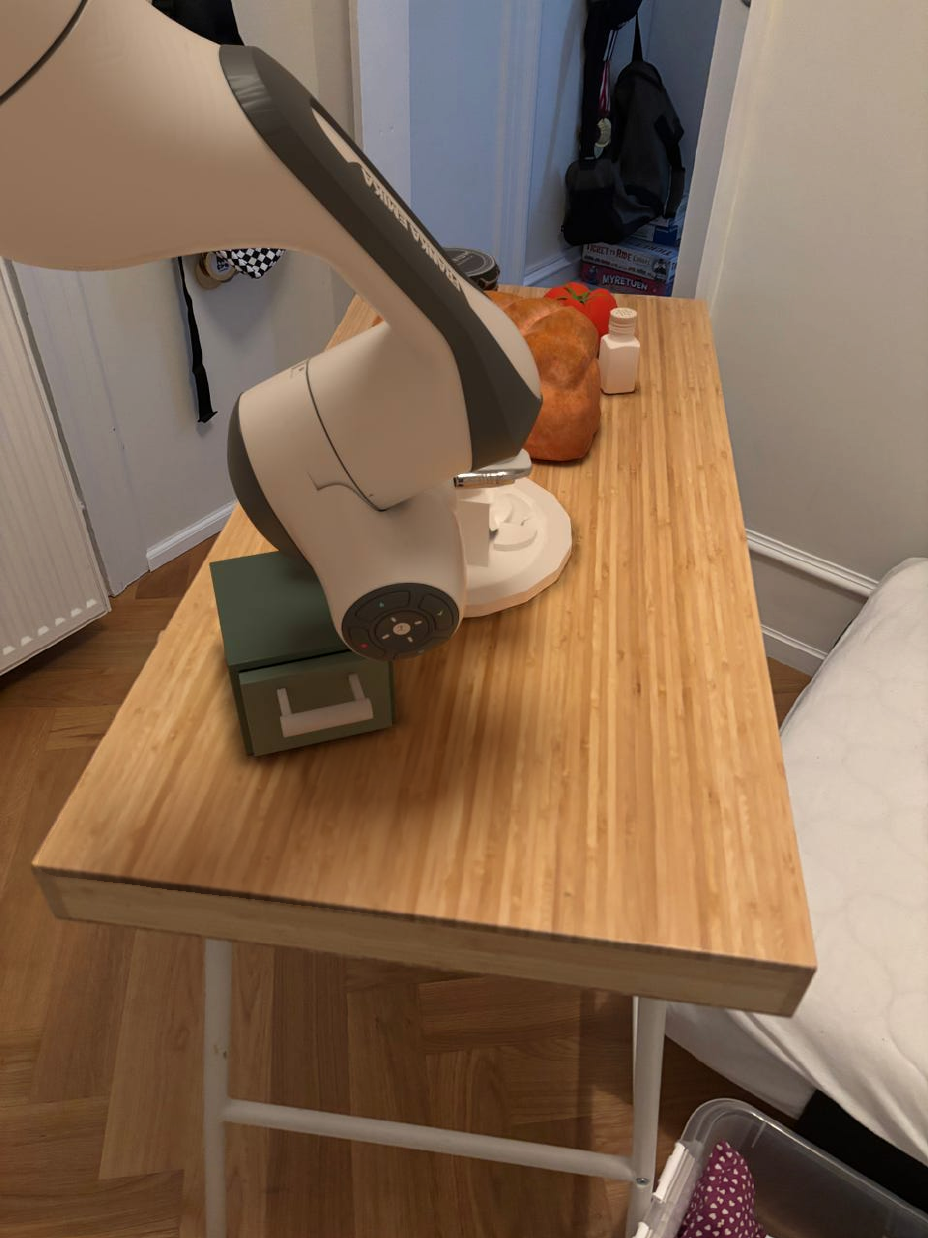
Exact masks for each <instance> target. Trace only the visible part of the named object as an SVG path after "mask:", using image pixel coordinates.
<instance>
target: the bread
mask: <svg viewBox="0 0 928 1238" xmlns="http://www.w3.org/2000/svg"><path fill="white" fill-rule="evenodd" d="M484 292H485V293H486V294H487V295H488V296H489V297H490V298H491V300H492V301H493V302H494V303H495V304H496V305H497V306H498V307H499V308H500V309H502V310H503V311H504V312H505V313H506V315H507V316H508V317H509V318H510V319H511V320H512V321H513V323H514V324H515V325H516V327H517V328H518V329H519V331H520V332H521V334H522V336H523V337H524V339H525V341H526V343H527V345H528V347H529V349H530V351H531V353H532V356H533V358H534V361H535V364H536V367H537V370H538V374H539V378H540V384H541V392H542V395H543V404H542V407H541V410H540V413H539V415H538V418H537V420H536V423H535V425H534V427H533V429H532V431H531V433H530V435H529V437H528V439H527V441H526V443H525V444H524V446H523V448H522V449H524V450H526V451H527V452H528V454H529V457H530V459H537V460H544V461H546V460H547V461H558V462H559V461H560V462H561V461H562V462H565V461H566V462H567V461H571V460H572V461H573V460H576V459H580V458H582V457H584V456H585V455H586V453H587V451H588V450H589V448H590V446H591V445H592V442H593V438H594V434H595V433H596V432H597V431H598V430H599V426H600V422H601V417H602V409H601V404H600V403H601V392H602V388H601V376H600V368H599V365H598V363H599V361H598V360H597V355H598V353H599V350H598V332H597V329H596V328H595V326H594V325H593V323H592V322H591V321H590V320H589V319H588V318H587V317H586V316H585V315H584V314H583V313H581V312H579V311H578V310H577V309H575V308H574V307H572V306H568V307H565V306H564V305H563V303H561V302H559V301H557V300H556V299H551V298H547V297H542V296H539V297H530V298H529V297H527V298H523V297H521V296H519V295H517V294H515V293H511V292H505V291H484ZM383 321H384V320H383V319H382V318H381V317H380V316H379V315H378V314H377V316H376V318H375V319H374V320H373V323H372V325H371V327H373V326H375V325H377V324H379V323H381V322H383Z"/></svg>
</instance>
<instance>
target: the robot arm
mask: <svg viewBox="0 0 928 1238" xmlns="http://www.w3.org/2000/svg"><path fill="white" fill-rule="evenodd" d="M442 247H443V246H442V245H441V244H440V243H439V242H438V240H437V239H436V238H435V237H434V235H433V234H432V232H430V231H429V230H428V228H427V227H426V226H425V224H423V222H422V221H421V219H419V217H418V216H417V215H416V214H415V213H414V211H413V210H412V209H411V208H410V206H409V205H408V204H407V203H406V202H405V200H404V199H403V198H402V197H401V196H400V195H399V193H398V192H397V191H396V190H395V189H394V187H393V185H391V184H390V182H389V181H388V180H387V178H386V177H385V176H384V175H383V174H382V173H381V171H380V170H379V169H378V168H377V167H376V165H375V164H374V163H373V162H372V160H370V158H369V157H368V156H367V155H366V154H365V152H364V151H363V150H362V149H361V148H360V146H359V145H358V144H357V143H356V141H354V140H353V139H352V138H351V137H350V135H349V134H348V133H347V132H346V131H345V130H344V129H343V127H342V126H341V125H340V124H339V122H338V121H337V120H336V118H334V117H333V116H332V115H331V114H330V112H329V111H328V110H327V109H326V108H325V107H324V106H323V105H322V103H321V102H320V101H319V100H318V99H317V98H316V97H315V96H314V95H313V94H312V92H310V90H309V89H308V88H306V87H305V85H303V84H302V82H301V81H300V80H299V79H298V78H297V77H296V76H295V75H293V74H292V73H291V72H290V71H289V70H288V69H287V68H286V67H284V66H283V65H282V64H281V63H280V62H279V61H277V60H276V59H275V58H274V57H272V56H271V55H269V54H268V53H267V52H266V51H265V50H263V49H262V48H260V47H258V46H255V45H241V44H237V45H236V44H218V43H216V42H214V41H211V40H209V39H207V38H205V37H203V36H201V35H199V34H198V33H195V32H194V31H191V30H189V29H188V28H186V27H185V26H183V25H181V24H179V23H178V22H176V21H175V20H173V19H171V17H169V16H167V15H165V14H164V13H163V12H162V11H160V10H159V9H157V8H156V7H154V6H153V5H152V4H151V3H149V2H148V1H147V0H0V257H1V258H3V259H6V260H8V261H11V262H15V263H18V264H21V265H25V266H30V267H37V268H41V269H48V270H53V271H65V272H66V271H68V272H85V273H86V272H103V271H105V272H106V271H113V270H114V271H116V270H122V269H128V268H132V267H136V266H141V265H145V264H149V263H154V262H158V261H163V260H169V259H173V258H178V257H184V256H189V255H195V254H202V253H209V252H218V251H219V252H220V251H227V250H228V251H229V250H230V251H231V250H244V249H245V250H246V249H277V250H279V249H280V250H285V251H286V250H287V251H292V252H293V251H294V252H297V253H301V254H305V255H308V256H310V257H314V258H316V259H317V260H318V261H321V262H323V263H324V264H325V265H327V266H328V267H329V268H330V269H331V270H333V271H334V272H335V273H336V274H337V275H338V276H339V277H340V278H341V279H342V280H343V281H344V282H345V283H346V284H347V286H349V288H351V289H352V290H353V291H354V293H356V294H357V295H358V296H359V298H361V300H362V301H364V302H365V303H366V304H367V305H368V306H369V308H371V309H372V310H373V311H374V313H375V314H377V316H378V315H379V316H380V317H381V318H382V319H383V320H384V321H383V322H381V323H379V324H377V325H375V326H373V327H372V326H371V327H370V328H368V329H366V330H363V331H361V332H359V333H357V334H356V335H354V336H352V337H350V338H347V339H345V340H344V341H342V342H340V343H338V344H335V345H334V346H332V347H330V348H328V349H326V350H324V351H322V352H320V353H318V354H317V355H315V356H312V357H308V358H306V359H304V360H302V361H300V362H298V363H297V364H295V365H292V366H291V367H289V368H286V369H284V370H283V371H281V372H279V373H277V374H275V375H273V376H271V377H269V378H267V379H265V380H263V381H262V382H260V383H258V384H256V385H254V386H253V387H251V388H249V389H248V390H245V391H242V392H241V393H240V394H239V395H238V397H237V399H236V400H235V403H234V405H233V408H232V411H231V414H230V418H229V423H228V430H227V442H226V443H227V444H226V445H227V446H226V458H227V459H226V460H227V461H226V463H227V468H228V474H229V478H230V483H231V486H232V488H233V491H234V494H235V496H236V499H237V501H238V503H239V505H240V507H241V508H242V510H243V511H244V513H245V514H246V517H247V518H248V519H249V520H250V522H251V524H252V525H253V527H254V528H255V529H256V530H257V531H258V532H259V534H260V535H261V536H262V537H263V539H265V540H266V541H267V542H268V543H269V544H270V545H271V546H273V548H275V549H276V551H280V552H281V553H283V554H285V555H286V556H288V557H289V558H291V559H292V560H294V561H295V562H297V563H299V564H300V565H302V566H304V567H306V568H308V569H310V570H312V571H315V572H316V574H317V576H318V578H319V581H320V583H321V585H322V587H323V590H324V593H325V595H326V598H327V602H328V606H329V609H330V613H331V617H332V620H333V623H334V626H335V629H336V631H337V633H338V634H339V636H340V638H341V639H342V640H343V642H344V643H345V644H346V645H347V646H348V647H349V648H350V649H351V650H352V651H354V652H356V653H357V654H359V655H361V656H364V657H367V658H370V659H375V660H381V661H393V662H398V661H399V662H400V661H403V660H409V659H412V658H415V657H418V656H421V655H423V654H426V653H428V652H430V651H433V650H434V649H435V650H436V649H437V648H439V647H441V646H443V645H444V644H445V643H447V642H448V641H449V640H450V639H451V638H452V637H454V634H455V633H457V630H458V629H459V627H460V625H461V623H462V621H463V615H464V611H465V605H466V595H467V567H466V555H465V547H464V540H463V534H462V530H461V527H460V524H459V522H458V520H457V498H456V492H455V490H459V489H480V488H495V487H501V486H505V485H511V484H514V483H515V480H517V479H521V478H524V477H526V478H528V477H529V476H530V475H531V473H532V471H533V463H532V460H531V459H532V458H530V457H529V454H528V452H527V451H526V450H524V449H522V448H523V446H524V444H525V443H526V441H527V439H528V437H529V435H530V433H531V431H532V429H533V427H534V425H535V423H536V420H537V418H538V415H539V413H540V410H541V407H542V404H543V395H542V392H541V384H540V378H539V374H538V370H537V367H536V364H535V361H534V358H533V356H532V353H531V351H530V349H529V347H528V345H527V343H526V341H525V339H524V337H523V336H522V334H521V332H520V331H519V329H518V328H517V327H516V325H515V324H514V323H513V321H512V320H511V319H510V318H509V317H508V316H507V315H506V313H505V312H504V311H503V310H502V309H500V308H499V307H498V306H497V305H496V304H495V303H494V302H493V301H492V300H491V298H490V297H489V296H488V295H487V294H486V293H485V292H484V291H483V290H482V289H481V288H480V287H479V286H478V285H477V284H476V283H475V282H474V281H473V280H472V279H470V278H469V277H468V276H467V275H466V274H465V273H464V272H463V271H462V270H461V269H460V268H459V266H458V265H457V264H456V263H455V262H454V261H453V260H452V258H451V257H450V256H449V255H448V254H447V253H446V251H445V250H444V249H443V248H442Z"/></svg>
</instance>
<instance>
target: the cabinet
mask: <svg viewBox="0 0 928 1238" xmlns="http://www.w3.org/2000/svg"><path fill="white" fill-rule="evenodd" d="M208 566H209V571H210V575H211V576H210V577H211V581H212V587H213V593H214V598H215V604H216V610H217V616H218V622H219V626H220V632H221V638H222V643H223V649H224V654H225V660H226V665H227V670H228V675H229V676H228V677H229V680H230V685H231V690H232V695H233V700H234V704H235V709H236V712H237V713H236V714H237V718H238V723H239V724H238V725H239V727H240V728H239V729H240V732H241V736H242V742H243V746H244V752H245V755H247V756H248V755H251V754H254V750H253V745H252V740H251V735H250V730H249V725H248V720H247V715H246V710H245V705H244V700H243V695H242V690H241V685H240V680H239V675H238V674H239V673H243V672H246V669H250V668H255V667H260V666H265V665H270V664H275V663H280V662H285V661H290V660H295V659H300V658H305V657H310V656H315V655H320V654H325V653H330V652H335V651H340V650H345V649H350V648H349V647H348V646H347V645H346V644H345V643H344V642H343V640H342V639H341V638H340V636H339V634H338V633H337V631H336V629H335V626H334V623H333V620H332V617H331V613H330V609H329V606H328V602H327V598H326V595H325V593H324V590H323V587H322V585H321V583H320V581H319V578H318V576H317V574H316V572H315V571H312V570H310V569H308V568H306V567H304V566H302V565H300V564H299V563H297V562H295V561H294V560H292V559H291V558H289V557H288V556H286V555H285V554H283V553H281V552H280V551H279V550H275V551H267V552H263V553H256V554H251V555H244V556H239V557H233V558H228V559H221V560H215V561H210V562H209V563H208ZM388 670H389V687H390V703H391V719H392V724H393V723H396V722H397V712H396V711H397V709H396V695H395V694H396V693H395V691H396V690H395V679H394V677H395V675H394V661H388Z"/></svg>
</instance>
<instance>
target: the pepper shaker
mask: <svg viewBox="0 0 928 1238" xmlns="http://www.w3.org/2000/svg"><path fill="white" fill-rule="evenodd" d="M637 321H638V311H636V310H634V309H632V308H630V307H618V308H616V309H613V310H611V311H610V320H609V334H607V335H604V336H603V337H602V338H601V344H600V349H599V352H598V353H599V355H598V365H599V368H600V376H601V390H602V391H603V392H604V393H605V394H609V395H611V394H621V393H622V394H623V393H631V392H634V390H635V388H636V381H637V373H638V366H639V357H640V352H641V351H640V349H641V343H640V341H639V339H638V338H637V337H636V336H635V331H636V329H637Z"/></svg>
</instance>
